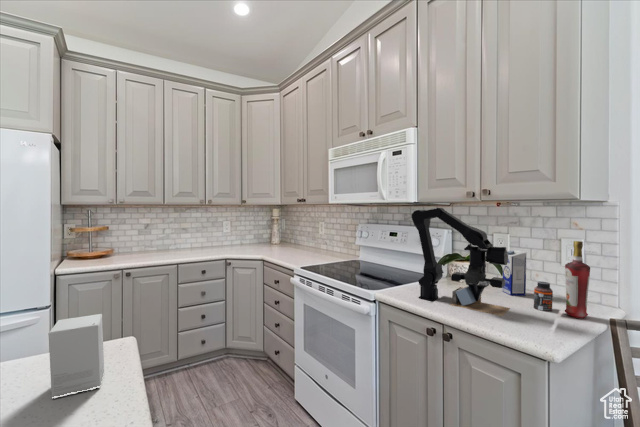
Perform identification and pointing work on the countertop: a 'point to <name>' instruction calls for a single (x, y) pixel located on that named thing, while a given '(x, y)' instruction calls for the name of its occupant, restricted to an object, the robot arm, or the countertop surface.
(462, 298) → the grey rectangular block
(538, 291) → the supplement bottle
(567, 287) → the liquor
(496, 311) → the shelf
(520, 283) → the milk carton
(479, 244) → the robot arm
